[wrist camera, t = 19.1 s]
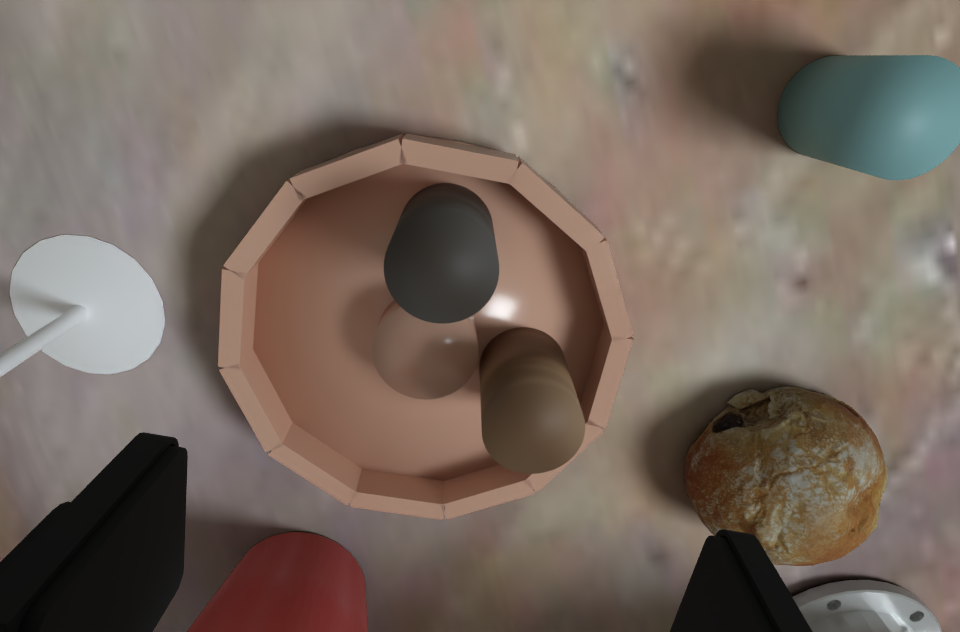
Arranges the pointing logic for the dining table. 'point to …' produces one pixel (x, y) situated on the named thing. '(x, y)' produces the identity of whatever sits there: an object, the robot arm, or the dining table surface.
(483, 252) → the bead
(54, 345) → the wineglass
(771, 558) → the bread roll
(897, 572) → the dining table surface
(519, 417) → the bead
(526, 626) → the dining table surface
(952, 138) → the teal capsule
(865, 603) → the robot arm
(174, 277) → the dining table surface
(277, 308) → the groove dish
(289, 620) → the flower pot
